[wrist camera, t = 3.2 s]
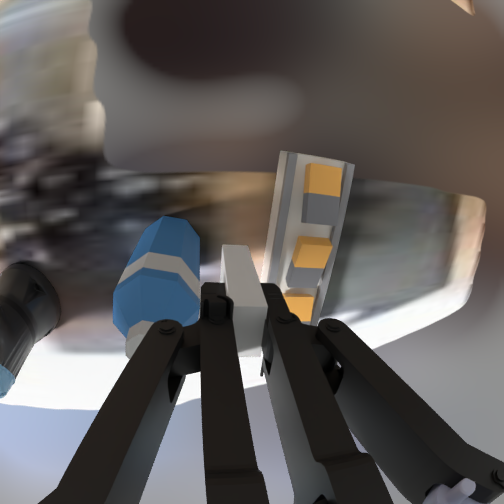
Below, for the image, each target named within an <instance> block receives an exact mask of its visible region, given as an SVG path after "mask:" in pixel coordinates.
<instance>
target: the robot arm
mask: <svg viewBox="0 0 504 504" xmlns="http://www.w3.org/2000/svg"><path fill="white" fill-rule="evenodd" d="M59 318H60V303H59V299H58V296H57V294H56V292H55V290H54V288H53V287H52V285H51V284H50V282H49V281H48V280H47V279H46V278H45V276H44V275H42V274H41V273H40V272H39V271H38V270H36V269H34V268H33V267H31V266H28V265H25V264H19V263H18V264H12V265H10V266H8V267H7V268H6V269H5V270H4V271H3V272H1V274H0V398H3V397H4V396H5V395H6V394H7V393H8V391H9V389H10V388H11V386H12V385H13V384H14V383H15V379H16V377H17V375H18V373H19V371H20V369H21V367H22V365H23V364H24V362H25V360H26V358H27V356H28V354H29V353H30V351H31V349H32V347H33V346H34V344H35V343H37V342H38V341H40V340H41V339H42V338H43V337H45V336H47V335H48V334H50V333H51V332H52V331H53V330H54V328H55V326H56V325H57V323H58V321H59ZM261 349H262V351H263V361H262V367H261V373H260V376H263V372H264V374H265V378H266V382H267V386H268V390H269V394H270V399H271V403H272V407H273V411H274V415H275V419H276V423H277V427H278V431H279V436H280V440H281V444H282V448H283V452H284V456H285V460H286V464H287V467H288V471H289V475H290V479H291V483H292V487H293V491H294V504H394V503H393V501H392V499H391V497H390V494H389V492H388V490H387V487H386V485H385V483H384V481H383V479H382V476H381V474H380V472H379V470H378V467H377V465H378V466H379V467H380V469H381V470H382V471H383V472H384V473H385V475H386V476H387V477H388V478H389V480H390V481H391V482H392V483H393V484H394V486H395V487H396V488H397V489H398V491H399V492H400V493H401V494H402V495H403V496H404V497H405V498H407V500H409V501H410V502H411V503H412V504H490V503H491V502H492V501H493V500H495V499H496V498H497V497H499V496H500V495H501V494H502V493H504V462H502V461H500V460H498V459H496V458H494V457H492V456H490V455H488V454H486V453H484V452H482V451H480V450H478V449H477V448H475V447H473V446H471V445H469V444H467V443H466V442H465V441H464V440H463V439H462V438H461V437H460V436H459V435H458V434H457V433H456V432H455V431H454V430H453V429H452V428H451V427H450V426H449V425H448V424H447V423H446V422H445V421H444V420H443V419H442V418H441V417H440V416H439V415H438V414H437V413H436V412H435V411H434V410H433V409H432V408H431V407H430V406H429V405H428V404H427V403H426V402H425V401H424V400H423V399H422V398H421V397H420V396H419V395H417V393H415V391H414V390H413V389H411V387H409V386H408V385H407V384H406V383H405V382H404V381H403V380H402V379H401V378H400V377H399V376H398V375H397V374H396V373H395V372H394V371H393V370H392V369H391V368H390V367H389V366H388V365H387V364H386V363H385V362H384V361H383V360H382V359H381V358H380V357H379V356H378V355H377V354H376V353H375V352H374V351H373V350H372V349H371V348H370V347H368V346H367V345H366V344H365V343H364V342H363V341H362V340H361V339H360V338H359V337H358V336H357V335H356V334H355V333H354V332H353V331H352V330H351V329H350V328H349V327H348V326H347V325H346V324H344V323H343V322H342V321H339V320H337V319H333V318H326V319H323V320H321V321H320V322H319V323H318V326H312V325H307V324H303V323H301V321H300V319H299V317H298V316H297V315H295V314H294V313H292V312H290V310H289V308H288V306H287V303H286V301H285V299H284V296H283V295H282V292H281V289H280V288H279V287H278V286H277V285H276V284H274V283H260V281H259V278H258V275H257V272H256V269H255V266H254V263H253V260H252V257H251V254H250V251H249V248H248V245H223V244H222V257H221V274H220V283H214V282H205V283H204V284H203V285H202V287H201V302H200V318H199V320H198V321H197V322H196V323H194V324H192V325H189V326H184V327H183V326H182V324H181V323H179V322H178V321H175V320H172V319H163V320H159V321H156V322H154V323H153V324H152V325H151V327H150V328H149V330H148V331H147V333H146V335H145V336H144V338H143V339H142V341H141V343H140V344H139V346H138V347H137V349H136V351H135V352H134V354H133V355H132V357H131V359H130V360H129V362H128V363H127V365H126V367H125V368H124V370H123V372H122V373H121V375H120V377H119V378H118V380H117V382H116V383H115V385H114V387H113V388H112V390H111V392H110V393H109V395H108V397H107V398H106V400H105V402H104V403H103V405H102V407H101V409H100V410H99V412H98V414H97V416H96V417H95V419H94V421H93V423H92V424H91V426H90V428H89V430H88V431H87V433H86V435H85V437H84V439H83V440H82V442H81V444H80V446H79V447H78V449H77V451H76V453H75V455H74V456H73V458H72V460H71V462H70V464H69V466H68V468H67V469H66V471H65V473H64V475H63V477H62V479H61V481H60V483H59V485H58V487H57V488H56V489H55V490H54V491H53V492H52V493H50V494H49V495H48V496H47V497H45V498H44V499H43V500H42V501H40V502H39V503H38V504H139V502H140V499H141V496H142V493H143V491H144V488H145V485H146V482H147V480H148V477H149V474H150V471H151V469H152V466H153V463H154V461H155V458H156V455H157V452H158V450H159V447H160V444H161V442H162V439H163V436H164V434H165V431H166V428H167V425H168V423H169V420H170V418H171V415H172V412H173V410H174V407H175V404H176V402H177V399H178V397H179V394H180V391H181V389H182V386H183V383H184V381H185V378H186V375H187V374H192V373H196V372H200V371H201V405H202V406H201V408H202V433H203V453H204V469H205V485H206V497H207V504H269V500H268V495H267V490H266V486H265V481H264V477H263V474H262V472H261V471H260V470H259V469H258V466H257V462H256V456H255V451H254V446H253V441H252V435H251V429H250V423H249V418H248V412H247V406H246V400H245V394H244V388H243V382H242V376H241V370H240V364H239V358H238V357H260V356H261ZM337 362H339V364H340V365H341V368H340V367H339V366H338V365H337ZM349 429H350V430H349ZM350 431H351V432H352V433H353V434H354V436H355V437H356V438H357V439H358V441H359V442H360V443H361V444H362V446H363V447H364V448H365V450H366V451H367V452H368V453H369V454H368V453H361V452H360V451H359V450H358V448H357V447H356V444H355V442H354V440H353V437H352V435H351V433H350ZM375 462H376V463H375ZM376 464H377V465H376Z"/></svg>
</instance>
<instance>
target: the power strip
mask: <svg viewBox="0 0 504 504" xmlns="http://www.w3.org/2000/svg"><path fill="white" fill-rule="evenodd" d="M309 163H316V164H321V165H327V166H333V167H338V168H342V175H341V190H340V203H339V214H338V225H337V226H330V225H320V224H310V223H301V216H302V205H303V193H304V180H305V167H306V164H309ZM354 167H355V165H354V164H351V163H347V162H344V161H340V160H336V159H330V158H325V157H319V156H314V155H308V154H302V153H295V152H289V151H282V150H281V151H280V155H279V162H278V169H277V176H276V182H275V189H274V196H273V202H272V209H271V215H270V222H269V228H268V235H267V241H266V248H265V254H264V260H263V267H262V273H261V279H260V283H274V284H276V285H277V286H278V287H279V288H280V289H281V292H282V293H290V294H310V295H312V296H313V297H314V300H313V308H312V315H311V322H310V325H312V326H317V324H318V321H319V317H320V314H321V310H322V307H323V303H324V299H325V296H326V292H327V288H328V285H329V281H330V277H331V273H332V269H333V265H334V261H335V257H336V253H337V249H338V244H339V240H340V236H341V231H342V227H343V222H344V218H345V213H346V209H347V204H348V199H349V194H350V189H351V184H352V178H353V173H354ZM298 236H309V237H321V238H329V240H330V242H331V244H332V246H333V247H332V250H331V253H330V255H329V258H328V260H327V263H326V265H325V268H324V270H323V273H322V275H321V278H320V280H319V283H318V285H317V288H288V286H287V283H286V279H285V278H286V275H287V271H288V268H289V265H290V262H291V259H292V255H293V252H294V249H295V246H296V242H297V239H298Z"/></svg>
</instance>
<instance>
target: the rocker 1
mask: <svg viewBox="0 0 504 504" xmlns="http://www.w3.org/2000/svg"><path fill="white" fill-rule="evenodd" d="M341 175H342V168H338V167H333V166H327V165H321V164H316V163H309V164H306V167H305V180H304V193H303V205H302V216H301V223H310V224H320V225H330V226H337V225H338V214H339V203H340V190H341Z"/></svg>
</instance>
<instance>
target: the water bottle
mask: <svg viewBox="0 0 504 504" xmlns="http://www.w3.org/2000/svg"><path fill="white" fill-rule="evenodd" d="M199 309H200V238H199V236H198V235H197V233H196V232H195V231H194V229H193V228H192V226H191V225H190V224H189V222H188V221H187V220H185V219H179V218H174V217H168V216H163V217H161V218H160V219H158V220H157V221H156V222H154V223H153V224H151V225H150V226H149V227H147V228H146V229H145V231H144V232H143V234H142V236H141V238H140V240H139V242H138V244H137V246H136V248H135V250H134V252H133V254H132V256H131V258H130V260H129V262H128V264H127V266H126V268H125V270H124V272H123V274H122V276H121V278H120V280H119V282H118V284H117V286H116V289H115V291H114V293H113V323H114V324H115V326H116V327H117V328H118V329H119V330H120V332H121V333H122V334H123V335H124V336H125V337H126V356H127V357H128V358H129V359H131V357H132V355H133V354H134V352H135V351H136V349H137V347H138V346H139V344H140V343H141V341H142V339H143V338H144V336H145V335H146V333H147V331H148V330H149V328H150V327H151V325H152V324H153V323H154V322H156V321H159V320H163V319H172V320H175V321H178V322H179V323H181V324H182V326H183V327H184V326H189V325H192V324H194V323H196V322H197V320H198V315H199Z"/></svg>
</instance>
